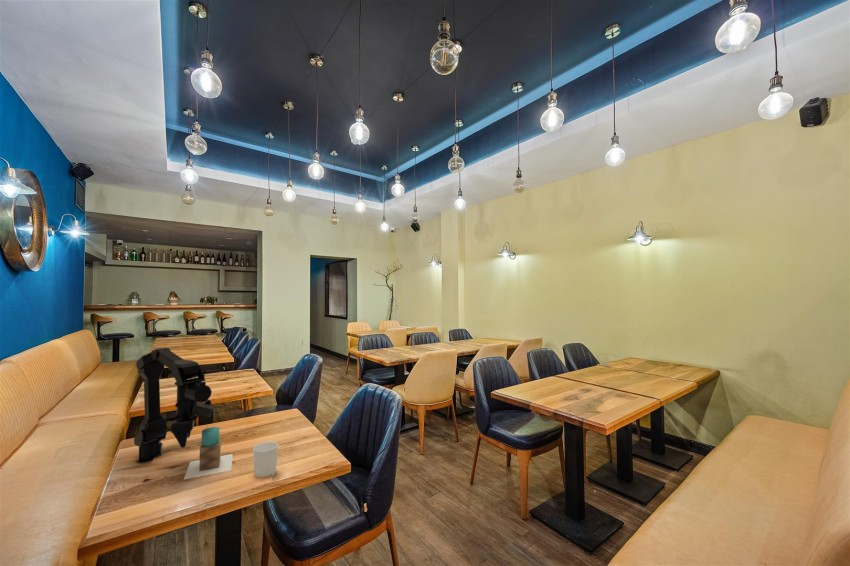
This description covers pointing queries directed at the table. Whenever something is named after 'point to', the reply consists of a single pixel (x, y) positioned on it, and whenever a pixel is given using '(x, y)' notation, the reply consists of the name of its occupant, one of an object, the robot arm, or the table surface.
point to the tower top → (210, 451)
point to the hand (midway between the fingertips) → (185, 442)
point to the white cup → (265, 459)
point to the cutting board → (194, 469)
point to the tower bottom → (209, 463)
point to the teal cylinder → (210, 436)
